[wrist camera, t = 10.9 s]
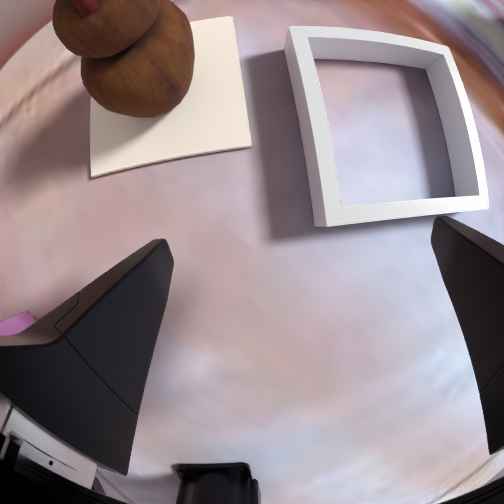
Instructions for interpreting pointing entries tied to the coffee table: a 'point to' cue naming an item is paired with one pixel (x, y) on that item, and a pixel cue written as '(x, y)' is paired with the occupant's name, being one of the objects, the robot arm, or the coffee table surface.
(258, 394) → the coffee table surface
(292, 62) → the white square tray
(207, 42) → the tile
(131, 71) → the wooden figurine
